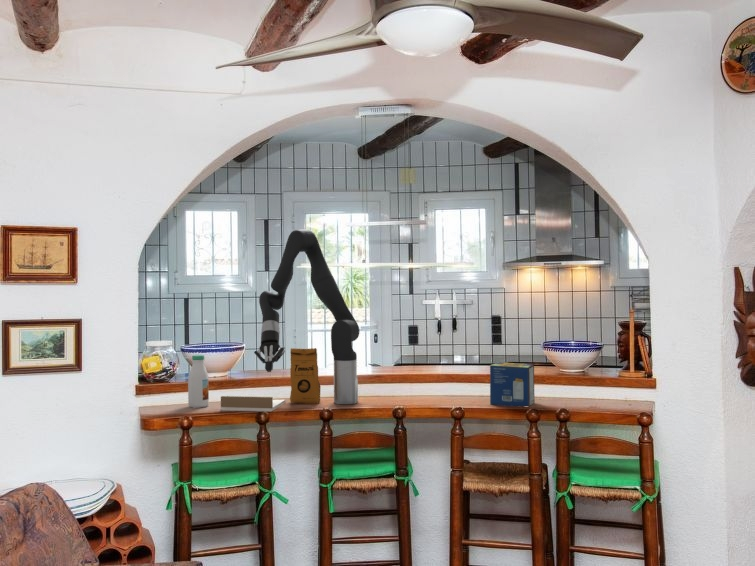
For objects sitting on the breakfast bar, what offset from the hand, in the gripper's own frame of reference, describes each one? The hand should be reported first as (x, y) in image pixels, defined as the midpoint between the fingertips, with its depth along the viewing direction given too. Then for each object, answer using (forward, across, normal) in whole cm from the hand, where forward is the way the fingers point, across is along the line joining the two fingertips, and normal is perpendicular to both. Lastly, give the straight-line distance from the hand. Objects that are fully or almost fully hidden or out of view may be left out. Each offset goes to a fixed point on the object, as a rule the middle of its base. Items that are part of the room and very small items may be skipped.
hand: (268, 371), depth 264 cm
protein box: (+20, +95, +15) cm, 98 cm away
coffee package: (+12, +13, +8) cm, 20 cm away
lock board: (+15, -5, -1) cm, 16 cm away
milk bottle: (+14, -27, -3) cm, 30 cm away
